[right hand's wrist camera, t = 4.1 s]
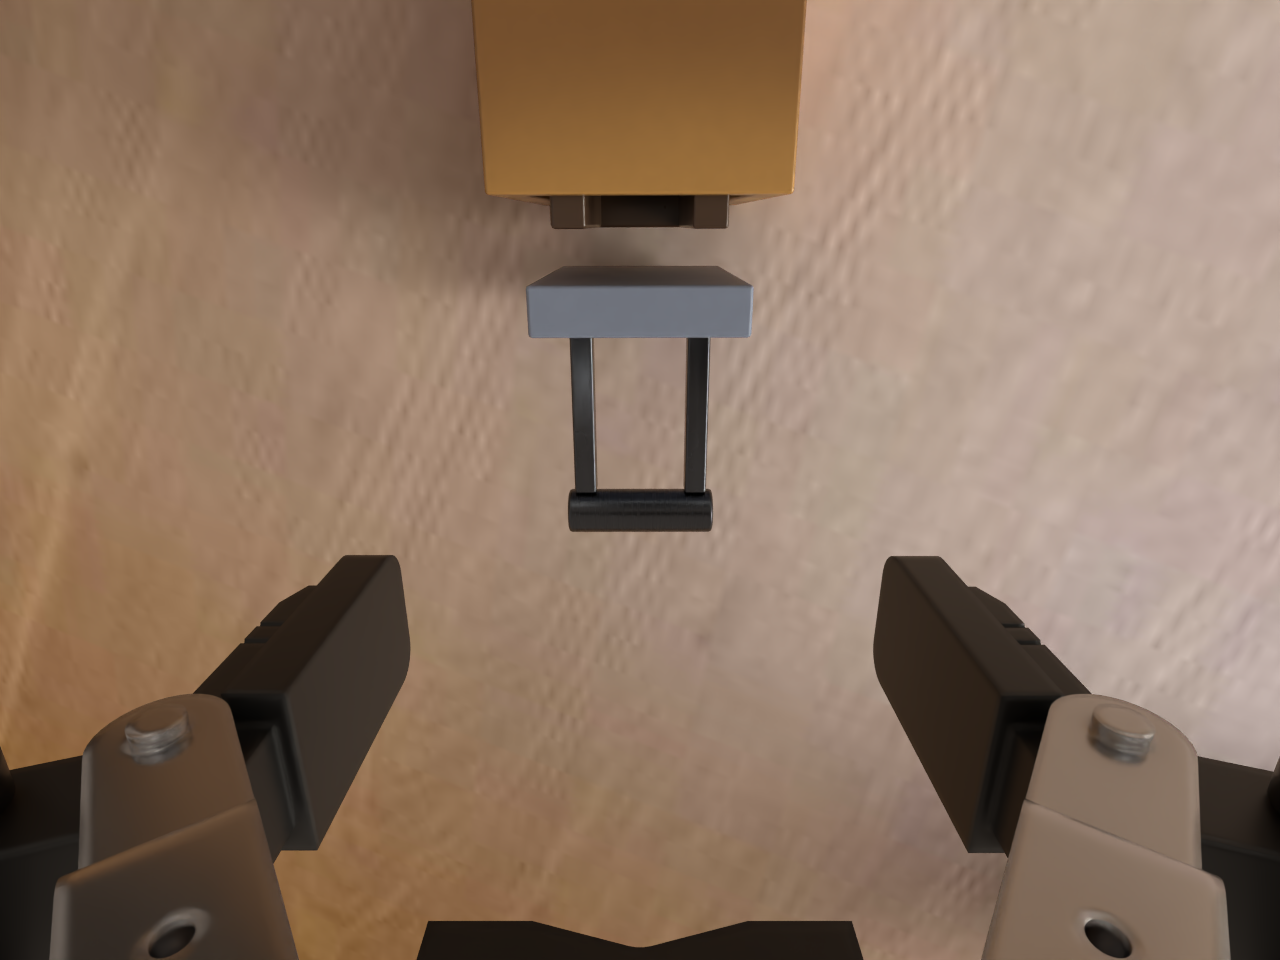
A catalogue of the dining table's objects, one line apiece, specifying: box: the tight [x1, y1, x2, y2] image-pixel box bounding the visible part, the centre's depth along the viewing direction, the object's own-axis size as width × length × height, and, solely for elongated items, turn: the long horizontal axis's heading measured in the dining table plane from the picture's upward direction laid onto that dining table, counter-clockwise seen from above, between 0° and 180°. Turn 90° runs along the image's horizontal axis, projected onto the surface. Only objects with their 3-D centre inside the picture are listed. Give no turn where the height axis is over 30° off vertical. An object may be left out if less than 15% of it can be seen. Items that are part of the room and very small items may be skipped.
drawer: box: [526, 195, 753, 532], centre depth 18 cm, size 24×5×8 cm, turn 0°
